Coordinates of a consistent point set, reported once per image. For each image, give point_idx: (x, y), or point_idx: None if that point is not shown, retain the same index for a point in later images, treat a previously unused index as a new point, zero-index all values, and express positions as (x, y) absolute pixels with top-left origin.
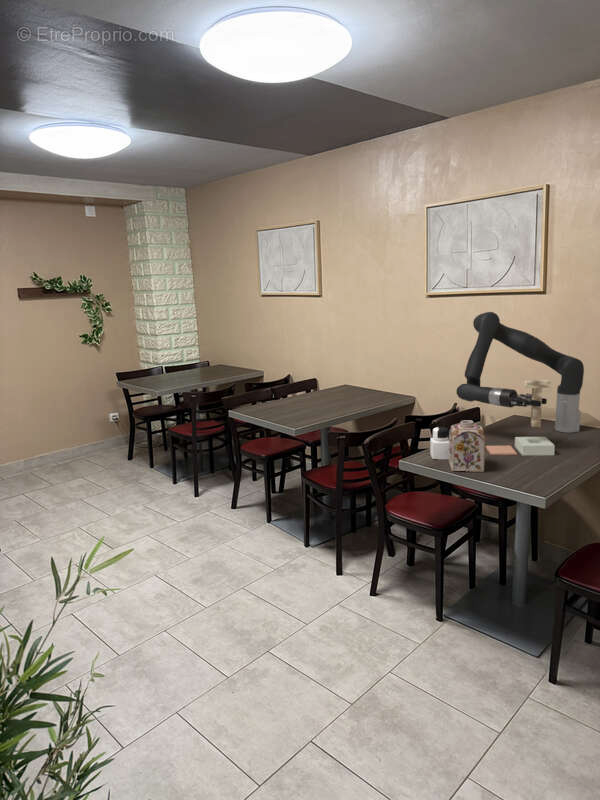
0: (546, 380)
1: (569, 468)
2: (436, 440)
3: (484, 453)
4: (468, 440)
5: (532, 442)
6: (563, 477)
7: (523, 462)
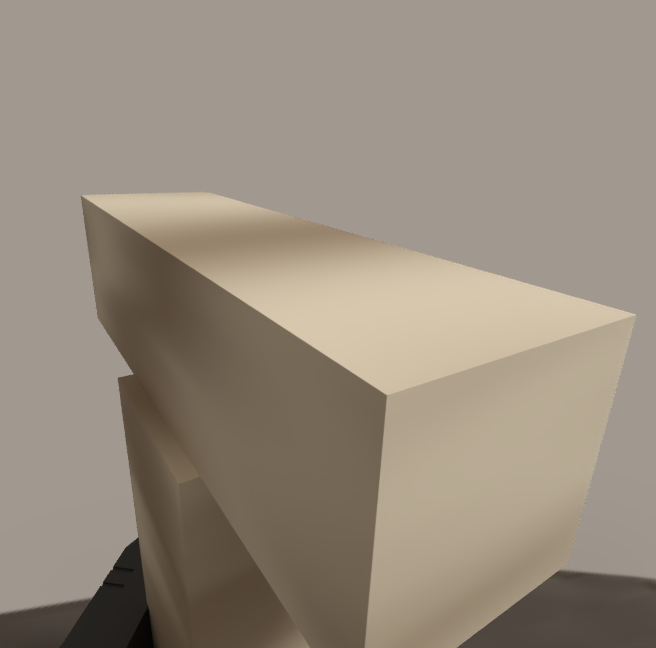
0: (145, 199)
1: (503, 623)
2: None
3: None
4: None
5: None
6: (649, 613)
7: None
